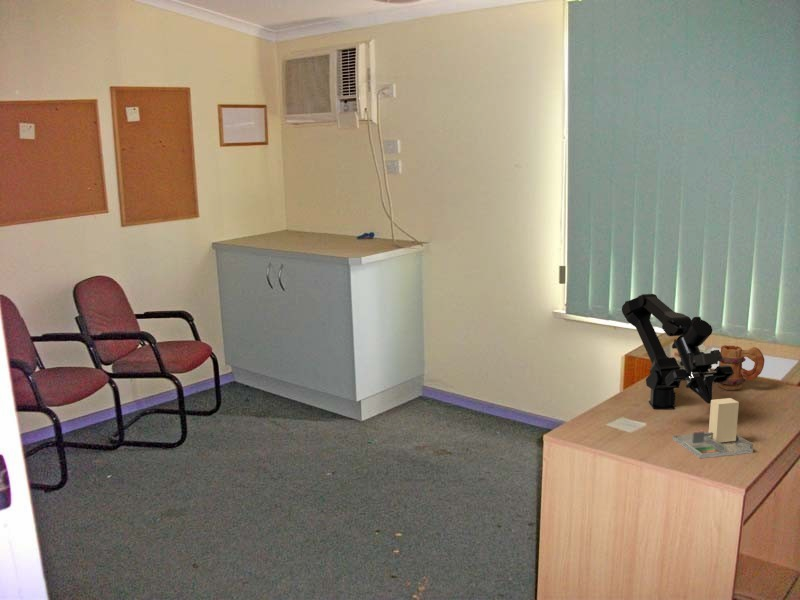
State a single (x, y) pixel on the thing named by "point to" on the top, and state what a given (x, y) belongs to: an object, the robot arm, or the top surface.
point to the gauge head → (723, 420)
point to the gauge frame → (714, 446)
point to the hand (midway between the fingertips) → (710, 402)
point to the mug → (740, 365)
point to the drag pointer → (698, 437)
